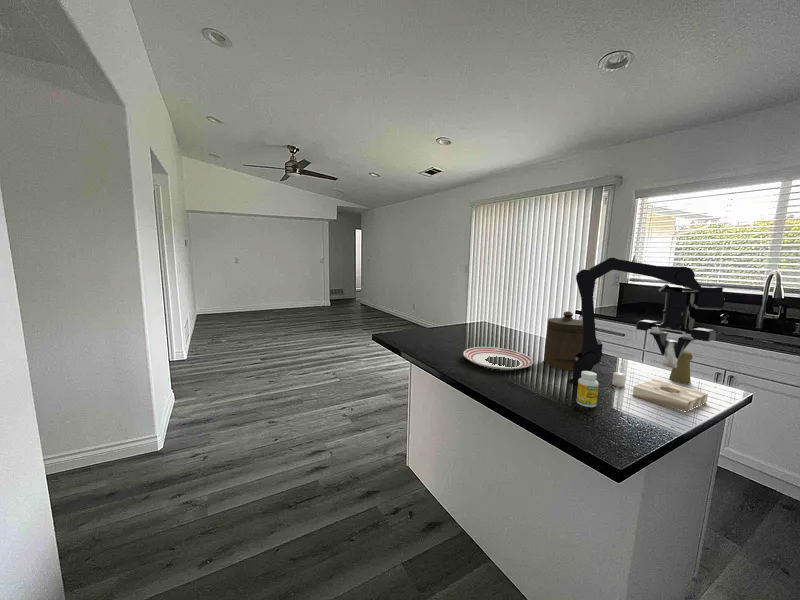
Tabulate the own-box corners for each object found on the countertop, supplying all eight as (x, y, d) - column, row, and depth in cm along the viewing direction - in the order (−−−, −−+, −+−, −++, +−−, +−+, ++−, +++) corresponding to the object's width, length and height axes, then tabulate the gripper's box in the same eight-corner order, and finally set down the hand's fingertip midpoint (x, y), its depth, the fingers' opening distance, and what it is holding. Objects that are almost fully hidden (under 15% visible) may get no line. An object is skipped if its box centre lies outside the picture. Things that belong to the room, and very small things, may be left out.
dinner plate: (538, 361, 144) (539, 353, 144) (524, 380, 121) (524, 371, 121) (476, 350, 159) (476, 343, 158) (452, 365, 136) (452, 357, 135)
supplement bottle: (587, 399, 105) (590, 369, 104) (600, 407, 100) (604, 375, 99) (572, 400, 104) (574, 370, 103) (585, 408, 99) (588, 376, 98)
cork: (682, 378, 126) (686, 349, 125) (694, 384, 120) (699, 354, 119) (665, 377, 127) (668, 348, 125) (676, 383, 121) (680, 353, 119)
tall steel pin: (673, 368, 105) (676, 343, 104) (660, 365, 108) (663, 340, 107) (678, 366, 107) (681, 341, 106) (665, 363, 110) (668, 339, 109)
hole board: (685, 412, 97) (687, 402, 97) (632, 395, 109) (633, 386, 109) (706, 403, 104) (707, 393, 104) (654, 387, 116) (655, 378, 116)
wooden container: (590, 366, 138) (595, 312, 135) (573, 373, 129) (578, 316, 126) (554, 357, 149) (558, 307, 147) (536, 363, 140) (540, 310, 137)
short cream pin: (620, 387, 116) (622, 376, 115) (610, 384, 119) (611, 373, 118) (626, 385, 117) (627, 374, 117) (615, 382, 120) (617, 371, 120)
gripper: (726, 309, 101) (719, 361, 103) (653, 302, 117) (649, 346, 119) (711, 312, 95) (704, 366, 97) (637, 304, 111) (632, 350, 113)
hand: (670, 356), depth 107 cm, fingers closed on tall steel pin, 3 cm apart
